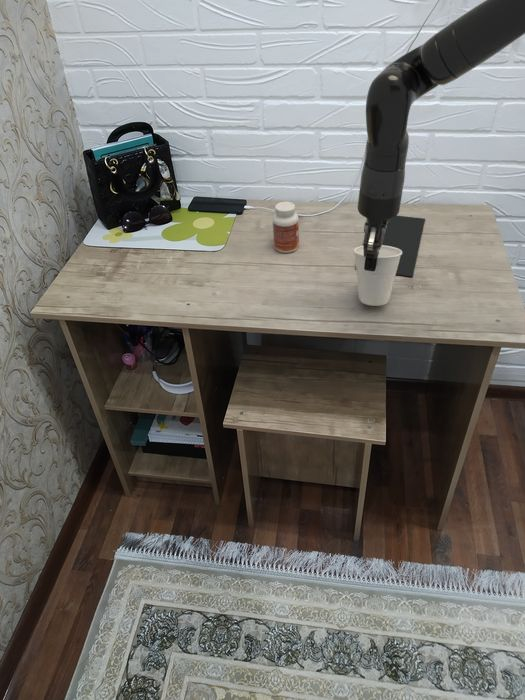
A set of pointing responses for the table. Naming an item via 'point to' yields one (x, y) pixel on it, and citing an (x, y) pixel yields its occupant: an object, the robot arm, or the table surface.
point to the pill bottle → (285, 227)
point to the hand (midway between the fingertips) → (370, 268)
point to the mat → (404, 241)
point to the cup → (377, 275)
